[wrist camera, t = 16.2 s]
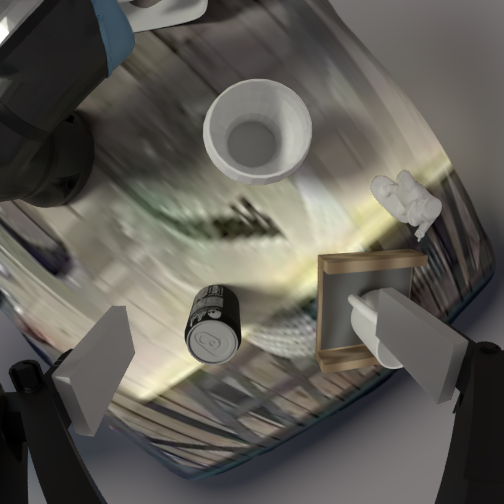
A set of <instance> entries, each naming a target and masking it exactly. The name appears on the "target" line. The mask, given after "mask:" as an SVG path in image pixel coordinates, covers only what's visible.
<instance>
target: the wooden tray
mask: <svg viewBox="0 0 504 504" xmlns="http://www.w3.org/2000/svg"><path fill="white" fill-rule="evenodd" d="M427 259H428V255H425V254H423V253H420V252H418V251H415V250H413V249H400V250H386V251H371V252H356V253H341V254H326V255H318V295H317V330H316V353H315V357H316V359H317V362H318V364H319V366H320V368H321V370H322V372H323V373H330V372H337V371H343V370H349V369H355V368H360V367H366V366H371V365H376V364H380V362H379V361H378V360H377V359H376V357H375V356H374V355H373V354H372V352H371V351H370V350H369V349H368V348H367V346H366V345H365V344H364V343H363V341H362V340H361V339H360V338H359V336H358V335H357V334H356V333H355V331H354V329H353V327H352V324H351V313H352V310H353V306H352V305H351V304H350V303H349V301H348V296H349V295H350V294H356V295H358V296H359V297H362V296H363V295H364V294H366V293H367V292H370V291H372V290H380V289H382V288H390V287H392V288H394V289H395V290H397V291H398V292H400V293H401V294H403V295H404V296H406V297H407V298H409V299H410V292H411V283H412V272H413V267H416V266H426V265H427Z"/></svg>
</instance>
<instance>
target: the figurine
mask: <svg viewBox="0 0 504 504" xmlns="http://www.w3.org/2000/svg"><path fill="white" fill-rule="evenodd" d="M397 183H398V184H397V185H396V184H395V183H394V182H393V181H392V180H390V179H389V178H387V177H385V176H376V177H375V178H373V180H372V181H371V184H370V190H371V193H372V195H373V196H374V198H375V199H376V200H377V201H378V202H379V204H381V206H383V207H384V208H385V209H386V211H388V213H389V214H391V215H392V216H393V218H395V219H396V220H398V221H400V222H403V223H408V222H409V224H410V225H412V226H418V225H419V224H420V226H419V229H418V230H417V231H416V233H415V236H417V237H418V242H419V241H420V240H421V238H422V237H424V235H425V232H426V231H427V230H428V228H429V227H430V226H431V224H432V223H433V222H434V220H435V219H436V218H437V217H438V216H439V214H440V212H441V209H442V203H441V201H440V200H439V199H437V198H435V197H434V196H432V195H431V194H430V193H429V192H428V191H427V190H426V189H425V187H424V186H423V185H421V184H419V183H418V182H416V181H415V179H414V178H413V176H412V175H411V174H410V173H409V172H408V171H407V170H403V171H401V172H400V173H399V174H398V175H397Z"/></svg>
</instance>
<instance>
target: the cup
mask: <svg viewBox="0 0 504 504" xmlns="http://www.w3.org/2000/svg"><path fill="white" fill-rule="evenodd" d="M203 139H204V143H205V147H206V151H207V153H208V155H209V156H210V158H211V160H212V162H213V163H214V165H215V166H216V167H217V168H218V169H219V170H220V171H221V172H222V173H223V174H225V175H226V176H228V177H230V178H232V179H233V180H235V181H238V182H241V183H245V184H249V185H266V184H270V183H274V182H278V181H280V180H282V179H284V178H286V177H288V176H289V175H291V174H292V173H293V172H294V171H295V170H296V169H297V168H298V167H299V166H301V164H302V162H303V161H304V159H305V157H306V156H307V154H308V151H309V147H310V144H311V140H312V121H311V118H310V114H309V111H308V109H307V107H306V105H305V104H304V102H303V100H302V99H301V98H300V97H299V96H298V95H297V94H296V93H295V92H294V91H293V90H292V89H290V88H288V87H287V86H285V85H283V84H281V83H279V82H275V81H272V80H269V79H250V80H245V81H240V82H238V83H236V84H234V85H232V86H230V87H228V88H227V89H226V90H225V91H224V92H223V93H222V94H220V95H219V96H218V97H217V98H216V99H215V101H214V102H213V104H212V105H211V107H210V108H209V110H208V112H207V115H206V118H205V121H204V125H203Z"/></svg>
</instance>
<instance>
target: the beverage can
mask: <svg viewBox="0 0 504 504" xmlns="http://www.w3.org/2000/svg"><path fill="white" fill-rule="evenodd" d="M185 342H186V344H187V347H188V350H189V352H190V354H191V355H192V356H193V357H194V358H195V359H196V360H198V361H199V362H201V363H204V364H208V365H220V364H223V363H225V362H227V361H229V360H230V359H231V358H232V357H233V356H234V355H235V353H236V351H237V350H238V348H239V346H240V344H241V325H240V311H239V302H238V299H237V297H236V295H235V294H234V293H233V292H232V291H231V290H230V289H228V288H226V287H224V286H220V285H212V286H208V287H205V288H203V289H202V290H201V291H199V293H198V294H197V295H196V297H195V299H194V302H193V306H192V309H191V312H190V316H189V319H188V322H187V326H186V329H185Z"/></svg>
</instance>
